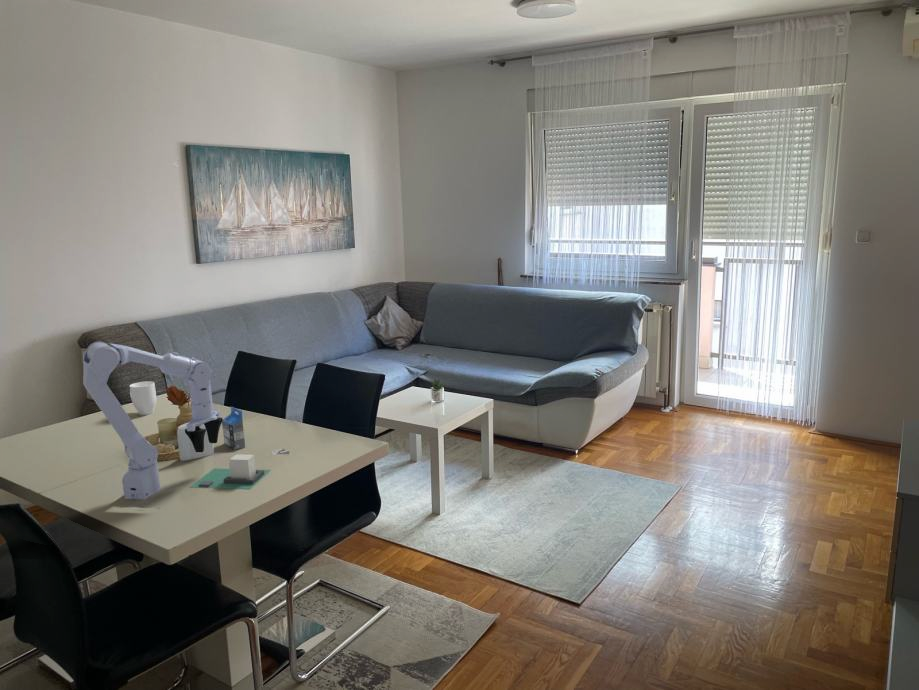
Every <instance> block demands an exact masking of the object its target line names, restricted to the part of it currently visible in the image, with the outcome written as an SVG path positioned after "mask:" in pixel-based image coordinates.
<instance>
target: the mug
mask: <svg viewBox="0 0 919 690" xmlns="http://www.w3.org/2000/svg"><path fill="white" fill-rule="evenodd" d="M155 384H156V383H155V382H154V381H148V380H147V381H145V380H144V381H139V382H134V383H131V384H130V385H129V395H130V399H131V402H132V405H133V406H134V408H135V410H136V411H137V412H138V414H139V416H140V415H141V416H147V415H152V414H154V412H155V409H156V404H157V392H156V386H155Z"/></svg>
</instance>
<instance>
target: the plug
mask: <svg viewBox="0 0 919 690" xmlns="http://www.w3.org/2000/svg"><path fill="white" fill-rule="evenodd" d="M228 460H229V462H228V466H229V467H228V468H229V469H230V477H231V478H240V479H251V478H252V477H254V476H255V475H256V470H257V468H256V459H255V454H237V453H236V454H235V455H233V456H232V457H230V459H228Z"/></svg>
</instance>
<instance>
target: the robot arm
mask: <svg viewBox="0 0 919 690" xmlns="http://www.w3.org/2000/svg"><path fill="white" fill-rule="evenodd" d="M131 362H132V363H138V364H143V365H147V366H152V367H157V368H159V369H160V372H161V373H163V374H166V375H169V376H174V377H179V378H182V379H188V383H189V385H188V386H189V387H188V388H189V396H190V405H191V415H192V418H191V419H190V421H189V423H188V422H187V423H188V424H187V425H186V426H187V429H185V433H186V434H187V436H188V437H189V438H190V440H191V442H192V444H193V446H194V449H195V451H196V452H203V451H204V436H205V432H206V431H207V435H208V440H209V443H213V444H217V443H218V439H219V433H220V428H221V426H222V421H223V419H224V417H220V416H221V415H220V413H221V412H220V409H214V405H213V404H214V403H213V396H212V395H213V393H212V385H211V378H212V377H213V372H214V371H213V370H212V368H211V366H210V364H208V363H206V362H204V361H202V360H200V359H197V358H195V357H192V356H191V357H190V358H189V357H187V356H184V355H180V354H179V353H178V352H176V351H173V352H172V353H170V352H167V353H165V354H163V355H160V354H156V353H153V352H149V351H144V350H142V349H139V348H135V347H131V346H129V345H128V346H127V345H123V344H117V343H109V344H108V343H107V342H103V341H95V342H92V343H90V345H88V347H87V348H86V350H85V352H84V354H83V357H82V363H83V367H82V368H83V371H82V372H83V374H82V384H83V386H84V388H85V390H86V391H87V392H88V394H89V395H90V397H91V398H92V399H93V400H94V403H96V405H97V407H98V408H99V409H100V411H101V412H102V413H103V415H104V416H105V418H106V419H107V421H108V423H109V424H110V425H111V427H112V428H113V429H114V431H115V432H116V434H117V436H118V437H119V438H120V440H121V443H122V444H123V446H124V452H125V454H126V456H127V457H128V458H129V462H128V464H127V468H128V469H127V472H126V473H125V474H124V475H123V477H122V481H121V483H122V489H123V495H124V496H123V497H124V500H146V499H147V498H149V497H151V496H152V495H154V494H156V493H158V492H159V491H160V490H161V488H162V487H161V480H160V472H159V466H158V465H159V464H158V457H159V451H158V449H157V447H156V446H154V445H153V444H151V443H150V442H149V441H148V440H147V439H146V438H145V437H144V436H143V434H141V432H140V430H138V428H137V427H136V425H135V424H134V422H133V421H132V419H131V417H130V416H129V415H128V413H127V412H126V411H125V409H124V407H123V406H122V405H121V403H120V402H119V400H118V399H117V397H116V396H115V394H114V393H113V391H112V390H111V388H110V387H109V385H108V384H107V383H108V380H109V377H110V375H111V373H112V372H113V371H114V370H115V369H116V368H117V366H118V365H121V366H123V365H125V364H128V363H131ZM203 424H204V425H205V428H206V429H201V428H200V427H199V426H201V425H203Z"/></svg>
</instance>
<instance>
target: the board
mask: <svg viewBox="0 0 919 690" xmlns="http://www.w3.org/2000/svg"><path fill="white" fill-rule="evenodd" d="M271 471H272V470H271V469H256V475H255V476H254V477H252V478H251V479H240V478H231V477H230V468H213V469H212V470H210V471H209V472H207V473H206V474H205V475H203V476H202V477H201V478H200V479H198V480H197V481H196V482H194V483H192V485H190V486H189V488H190V489H191V488H194V489H221V490H223V489H224V490H226V489H229V490H251V489H253V488H254V487H255V486H256V485H257V484H258V483H259V482H260V481H261V480H262V479H263V478H264V477H266V475H268V473H270V472H271Z"/></svg>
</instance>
